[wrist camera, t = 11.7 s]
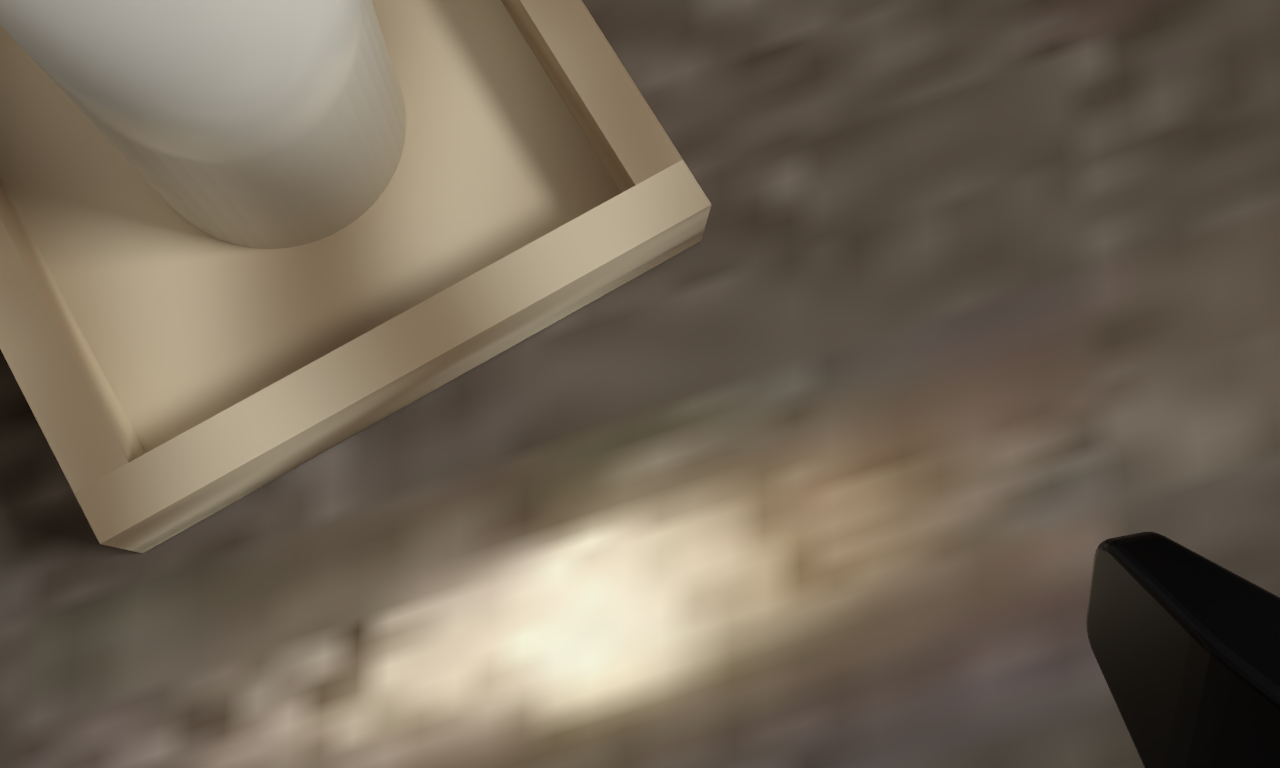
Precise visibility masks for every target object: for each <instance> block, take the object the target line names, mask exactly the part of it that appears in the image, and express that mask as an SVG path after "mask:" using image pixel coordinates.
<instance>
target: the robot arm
mask: <svg viewBox="0 0 1280 768" xmlns="http://www.w3.org/2000/svg"><path fill="white" fill-rule="evenodd" d="M1086 625H1087V633H1088V638H1089V642H1090V645H1091V648H1092V650H1093V653H1094V655H1095V657H1096V660H1097V662H1098V664H1099V666H1100V669H1101V671H1102V673H1103V675H1104V677H1105V680H1106V682H1107V684H1108V686H1109V689H1110V691H1111V693H1112V695H1113V698H1114V700H1115V702H1116V704H1117V707H1118V709H1119V711H1120V713H1121V716H1122V718H1123V720H1124V722H1125V724H1126V727H1127V729H1128V731H1129V733H1130V736H1131V738H1132V740H1133V742H1134V745H1135V747H1136V749H1137V751H1138V754H1139V756H1140V758H1141V760H1142V763H1143V765H1144V767H1145V768H1280V598H1279V597H1278V596H1276V595H1274V594H1272V593H1270V592H1268V591H1266V590H1264V589H1263V588H1261V587H1259V586H1257V585H1255V584H1253V583H1251V582H1249V581H1248V580H1246V579H1244V578H1242V577H1240V576H1238V575H1236V574H1234V573H1233V572H1231V571H1229V570H1227V569H1225V568H1223V567H1221V566H1219V565H1218V564H1216V563H1214V562H1212V561H1210V560H1208V559H1206V558H1204V557H1202V556H1201V555H1199V554H1197V553H1195V552H1193V551H1191V550H1189V549H1187V548H1186V547H1184V546H1182V545H1180V544H1178V543H1176V542H1174V541H1172V540H1171V539H1169V538H1167V537H1165V536H1163V535H1160V534H1158V533H1154V532H1142V533H1137V534H1132V535H1126V536H1121V537H1116V538H1111V539H1107V540H1105V541H1103V542H1102V543H1101V544H1100V545H1099V546H1098V548H1097V550H1096V553H1095V557H1094V564H1093V571H1092V578H1091V586H1090V593H1089V600H1088V608H1087V616H1086Z"/></svg>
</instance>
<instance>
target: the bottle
mask: <svg viewBox="0 0 1280 768" xmlns="http://www.w3.org/2000/svg"><path fill="white" fill-rule="evenodd" d="M0 25H1V26H2V27H3V28H4V29H5V30H6V32H7V33H8V34H9V35H10V36H11V37H12V38H13V39H14V40H15V41H16V42H17V43H18V44H19V45H20V46H21V48H22V49H23V50H24V51H25V52H26V53H27V54H28V55H29V56H30V57H31V58H32V59H33V60H34V61H35V62H36V63H37V65H38V66H39V67H40V68H41V69H42V70H43V71H44V72H45V73H46V74H47V75H48V76H49V77H50V78H51V79H52V80H53V82H54V83H55V84H56V85H57V86H58V87H59V88H60V89H61V90H62V91H63V92H64V93H65V94H66V95H67V96H68V97H69V99H70V100H71V101H72V102H73V103H74V104H75V105H76V106H77V107H78V108H79V109H80V110H81V111H82V112H83V113H84V114H85V116H86V117H87V118H88V119H89V120H90V121H91V122H92V123H93V124H94V125H95V126H96V127H97V128H98V129H99V130H100V131H101V133H102V134H103V135H104V136H105V137H106V138H107V139H108V140H109V141H110V142H111V143H112V144H113V145H114V146H115V147H116V148H117V150H118V151H119V152H120V153H121V154H122V155H123V156H124V157H125V158H126V159H127V160H128V161H129V162H130V163H131V164H132V165H133V167H134V168H135V169H136V170H137V171H138V172H139V173H140V174H141V175H142V176H143V177H144V178H145V179H146V180H147V181H148V182H149V184H150V185H151V186H152V187H153V188H154V189H155V190H156V191H157V192H158V193H159V194H160V195H161V196H162V197H163V198H164V199H165V201H166V202H167V203H168V204H169V205H170V206H171V207H172V208H173V209H174V210H175V211H176V212H177V213H178V214H179V215H180V216H181V217H183V218H184V219H185V220H186V221H187V222H188V223H190V224H191V225H193V226H194V227H196V228H197V229H199V230H200V231H202V232H204V233H206V234H208V235H210V236H212V237H214V238H216V239H218V240H221V241H224V242H228V243H231V244H234V245H238V246H244V247H249V248H259V249H279V248H290V247H295V246H300V245H305V244H308V243H311V242H315V241H318V240H321V239H323V238H325V237H327V236H330V235H332V234H334V233H336V232H338V231H340V230H341V229H343V228H345V227H346V226H348V225H349V224H351V223H353V222H354V221H355V220H356V219H357V218H359V217H360V216H361V215H362V214H364V213H365V212H366V211H367V210H368V209H369V208H370V207H371V206H372V205H373V204H374V203H375V202H376V201H377V199H378V198H379V197H380V195H381V194H382V193H383V191H384V190H385V189H386V187H387V186H388V184H389V182H390V180H391V179H392V177H393V175H394V173H395V171H396V169H397V166H398V164H399V161H400V158H401V155H402V151H403V147H404V143H405V134H406V109H405V104H404V99H403V94H402V91H401V88H400V85H399V82H398V79H397V76H396V73H395V70H394V67H393V64H392V61H391V58H390V55H389V52H388V49H387V46H386V43H385V40H384V37H383V34H382V31H381V28H380V25H379V22H378V19H377V16H376V13H375V10H374V7H373V4H372V1H371V0H0Z"/></svg>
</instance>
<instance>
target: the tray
mask: <svg viewBox="0 0 1280 768" xmlns="http://www.w3.org/2000/svg"><path fill="white" fill-rule="evenodd" d="M371 1H372V4H373V7H374V10H375V13H376V16H377V19H378V22H379V25H380V28H381V31H382V34H383V37H384V40H385V43H386V46H387V49H388V52H389V55H390V58H391V61H392V64H393V67H394V70H395V73H396V76H397V79H398V82H399V85H400V88H401V91H402V94H403V99H404V104H405V109H406V134H405V143H404V147H403V151H402V155H401V158H400V161H399V164H398V166H397V169H396V171H395V173H394V175H393V177H392V179H391V180H390V182H389V184H388V186H387V187H386V189H385V190H384V191H383V193H382V194H381V195H380V197H379V198H378V199H377V201H376V202H375V203H374V204H373V205H372V206H371V207H370V208H369V209H368V210H367V211H366V212H365V213H364V214H362V215H361V216H360V217H359V218H357V219H356V220H355V221H354V222H353V223H351V224H349V225H348V226H346V227H345V228H343V229H341V230H340V231H338V232H336V233H334V234H332V235H330V236H327V237H325V238H323V239H321V240H318V241H315V242H311V243H308V244H305V245H300V246H295V247H290V248H279V249H259V248H249V247H244V246H238V245H234V244H231V243H228V242H224V241H221V240H218V239H216V238H214V237H212V236H210V235H208V234H206V233H204V232H202V231H200V230H199V229H197V228H196V227H194V226H193V225H191V224H190V223H188V222H187V221H186V220H185V219H184V218H183V217H181V216H180V215H179V214H178V213H177V212H176V211H175V210H174V209H173V208H172V207H171V206H170V205H169V204H168V203H167V202H166V201H165V199H164V198H163V197H162V196H161V195H160V194H159V193H158V192H157V191H156V190H155V189H154V188H153V187H152V186H151V185H150V184H149V182H148V181H147V180H146V179H145V178H144V177H143V176H142V175H141V174H140V173H139V172H138V171H137V170H136V169H135V168H134V167H133V165H132V164H131V163H130V162H129V161H128V160H127V159H126V158H125V157H124V156H123V155H122V154H121V153H120V152H119V151H118V150H117V148H116V147H115V146H114V145H113V144H112V143H111V142H110V141H109V140H108V139H107V138H106V137H105V136H104V135H103V134H102V133H101V131H100V130H99V129H98V128H97V127H96V126H95V125H94V124H93V123H92V122H91V121H90V120H89V119H88V118H87V117H86V116H85V114H84V113H83V112H82V111H81V110H80V109H79V108H78V107H77V106H76V105H75V104H74V103H73V102H72V101H71V100H70V99H69V97H68V96H67V95H66V94H65V93H64V92H63V91H62V90H61V89H60V88H59V87H58V86H57V85H56V84H55V83H54V82H53V80H52V79H51V78H50V77H49V76H48V75H47V74H46V73H45V72H44V71H43V70H42V69H41V68H40V67H39V66H38V65H37V63H36V62H35V61H34V60H33V59H32V58H31V57H30V56H29V55H28V54H27V53H26V52H25V51H24V50H23V49H22V48H21V46H20V45H19V44H18V43H17V42H16V41H15V40H14V39H13V38H12V37H11V36H10V35H9V34H8V33H7V32H6V30H5V29H4V28H3V27H2V26H1V25H0V349H1V351H2V353H3V355H4V357H5V359H6V361H7V363H8V365H9V367H10V369H11V371H12V373H13V375H14V377H15V379H16V381H17V383H18V385H19V386H20V388H21V390H22V392H23V394H24V396H25V398H26V400H27V402H28V404H29V406H30V408H31V410H32V412H33V414H34V416H35V418H36V420H37V422H38V424H39V426H40V428H41V430H42V432H43V434H44V436H45V437H46V439H47V441H48V443H49V445H50V447H51V449H52V451H53V453H54V455H55V457H56V459H57V461H58V463H59V465H60V467H61V469H62V471H63V473H64V475H65V477H66V479H67V481H68V483H69V485H70V486H71V488H72V490H73V492H74V494H75V496H76V498H77V500H78V502H79V504H80V506H81V508H82V510H83V512H84V514H85V516H86V518H87V520H88V522H89V524H90V526H91V528H92V530H93V532H94V534H95V536H96V537H97V539H98V541H99V543H100V544H102V545H106V546H111V547H115V548H120V549H125V550H129V551H134V552H138V553H144V552H146V551H147V550H149V549H151V548H153V547H155V546H156V545H158V544H160V543H162V542H164V541H165V540H167V539H169V538H171V537H172V536H174V535H176V534H178V533H180V532H181V531H183V530H185V529H187V528H189V527H190V526H192V525H194V524H196V523H197V522H199V521H201V520H203V519H205V518H206V517H208V516H210V515H212V514H214V513H215V512H217V511H219V510H221V509H223V508H224V507H226V506H228V505H230V504H231V503H233V502H235V501H237V500H239V499H240V498H242V497H244V496H246V495H248V494H249V493H251V492H253V491H255V490H256V489H258V488H260V487H262V486H264V485H265V484H267V483H269V482H271V481H273V480H274V479H276V478H278V477H280V476H281V475H283V474H285V473H287V472H289V471H290V470H292V469H294V468H296V467H298V466H299V465H301V464H303V463H305V462H306V461H308V460H310V459H312V458H314V457H315V456H317V455H319V454H321V453H323V452H324V451H326V450H328V449H330V448H332V447H333V446H335V445H337V444H339V443H340V442H342V441H344V440H346V439H348V438H349V437H351V436H353V435H355V434H357V433H358V432H360V431H362V430H364V429H365V428H367V427H369V426H371V425H373V424H374V423H376V422H378V421H380V420H382V419H383V418H385V417H387V416H389V415H390V414H392V413H394V412H396V411H398V410H399V409H401V408H403V407H405V406H407V405H408V404H410V403H412V402H414V401H416V400H417V399H419V398H421V397H423V396H424V395H426V394H428V393H430V392H432V391H433V390H435V389H437V388H439V387H441V386H442V385H444V384H446V383H448V382H449V381H451V380H453V379H455V378H457V377H458V376H460V375H462V374H464V373H466V372H467V371H469V370H471V369H473V368H474V367H476V366H478V365H480V364H482V363H483V362H485V361H487V360H489V359H491V358H492V357H494V356H496V355H498V354H499V353H501V352H503V351H505V350H507V349H508V348H510V347H512V346H514V345H516V344H517V343H519V342H521V341H523V340H525V339H526V338H528V337H530V336H532V335H533V334H535V333H537V332H539V331H541V330H542V329H544V328H546V327H548V326H550V325H551V324H553V323H555V322H557V321H558V320H560V319H562V318H564V317H566V316H567V315H569V314H571V313H573V312H575V311H576V310H578V309H580V308H582V307H583V306H585V305H587V304H589V303H591V302H592V301H594V300H596V299H598V298H600V297H601V296H603V295H605V294H607V293H609V292H610V291H612V290H614V289H616V288H617V287H619V286H621V285H623V284H625V283H626V282H628V281H630V280H632V279H634V278H635V277H637V276H639V275H641V274H642V273H644V272H646V271H648V270H650V269H651V268H653V267H655V266H657V265H659V264H660V263H662V262H664V261H666V260H667V259H669V258H671V257H673V256H675V255H676V254H678V253H680V252H682V251H684V250H685V249H687V248H689V247H691V246H692V245H694V244H696V243H698V242H700V241H701V240H702V236H703V232H704V229H705V225H706V222H707V218H708V215H709V211H710V208H711V203H710V202H709V200H708V199H707V197H706V195H705V194H704V192H703V191H702V189H701V188H700V186H699V184H698V183H697V181H696V180H695V178H694V177H693V175H692V173H691V172H690V170H689V169H688V167H687V165H686V164H685V162H684V161H683V159H682V158H681V156H680V154H679V153H678V151H677V150H676V148H675V147H674V145H673V143H672V142H671V140H670V139H669V137H668V136H667V134H666V132H665V131H664V129H663V128H662V126H661V125H660V123H659V121H658V120H657V118H656V117H655V115H654V114H653V112H652V110H651V109H650V107H649V106H648V104H647V103H646V101H645V99H644V98H643V96H642V95H641V93H640V92H639V90H638V88H637V87H636V85H635V84H634V82H633V81H632V79H631V77H630V76H629V74H628V73H627V71H626V69H625V68H624V66H623V65H622V63H621V62H620V60H619V58H618V57H617V55H616V54H615V52H614V51H613V49H612V47H611V46H610V44H609V43H608V41H607V40H606V38H605V36H604V35H603V33H602V32H601V30H600V29H599V27H598V25H597V24H596V22H595V21H594V19H593V18H592V16H591V14H590V13H589V11H588V10H587V8H586V7H585V5H584V3H583V2H582V0H371Z"/></svg>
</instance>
